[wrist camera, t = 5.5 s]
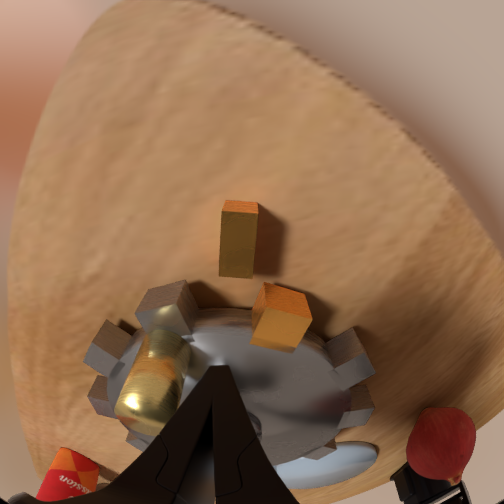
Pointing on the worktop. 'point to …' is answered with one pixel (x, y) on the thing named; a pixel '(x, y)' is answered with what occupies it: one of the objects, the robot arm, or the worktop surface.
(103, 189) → the worktop surface
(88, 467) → the paper cup
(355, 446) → the coaster
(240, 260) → the wooden toy brick
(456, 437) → the onion
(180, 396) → the sprocket
